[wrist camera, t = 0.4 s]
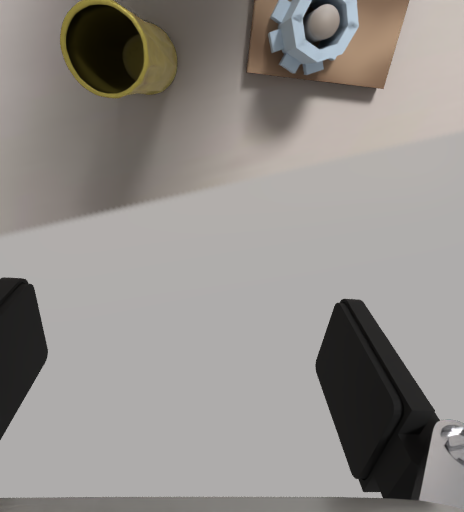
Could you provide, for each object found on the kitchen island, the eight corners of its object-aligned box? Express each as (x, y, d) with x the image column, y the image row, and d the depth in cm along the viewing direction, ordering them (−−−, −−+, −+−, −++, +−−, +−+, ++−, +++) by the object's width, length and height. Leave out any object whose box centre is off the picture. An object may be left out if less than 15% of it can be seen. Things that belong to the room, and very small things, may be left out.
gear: (260, -2, 29) (271, -19, 24) (338, -30, 28) (366, -53, 23) (277, 83, 32) (290, 85, 27) (347, 60, 32) (373, 57, 26)
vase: (189, 50, 32) (174, 35, 19) (158, 107, 34) (128, 125, 22) (131, 6, 30) (74, -43, 18) (104, 69, 32) (36, 65, 20)
